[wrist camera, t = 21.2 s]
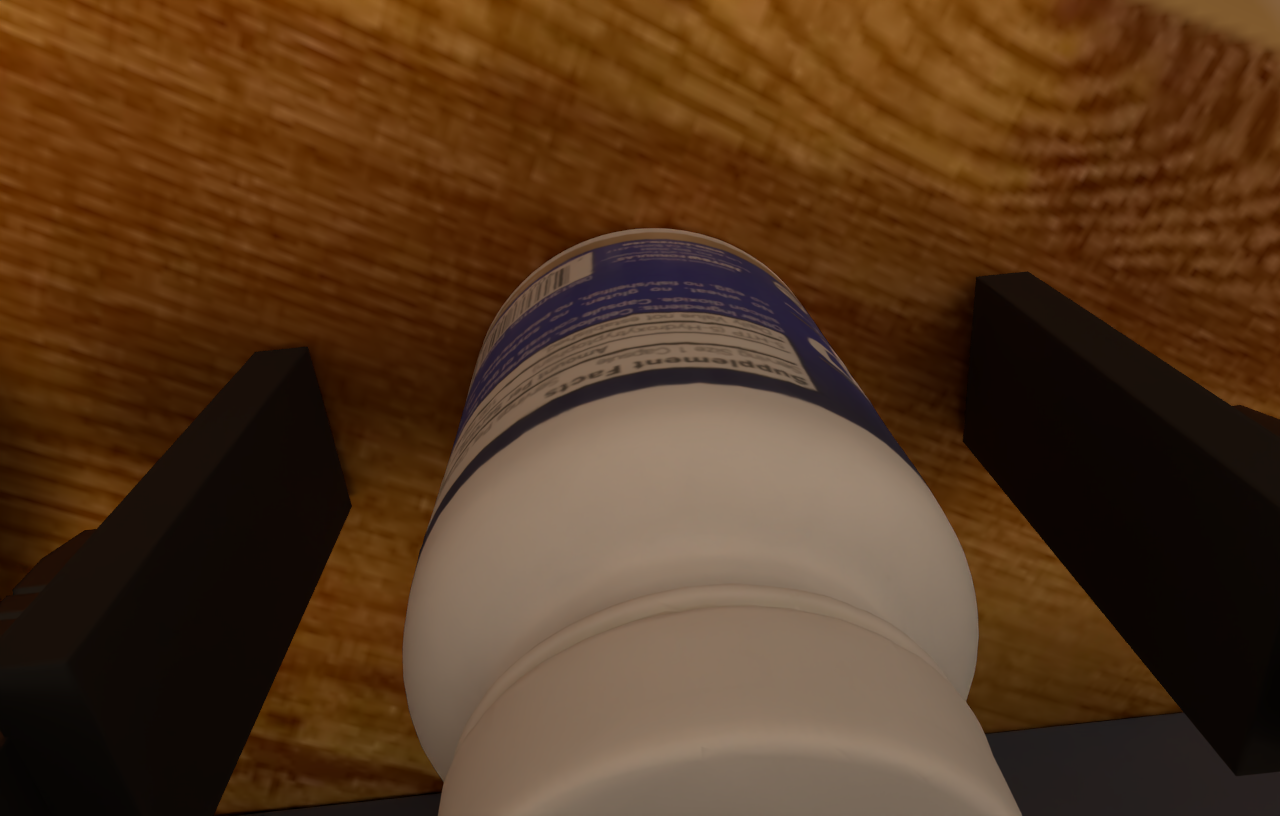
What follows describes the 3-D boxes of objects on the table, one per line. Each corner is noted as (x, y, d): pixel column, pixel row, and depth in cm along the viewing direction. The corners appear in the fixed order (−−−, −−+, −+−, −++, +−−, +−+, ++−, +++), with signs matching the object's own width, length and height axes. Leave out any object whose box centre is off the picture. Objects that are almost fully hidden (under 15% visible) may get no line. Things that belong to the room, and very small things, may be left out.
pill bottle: (832, 505, 15) (1129, 1141, 7) (520, 559, 15) (440, 1248, 7) (805, 186, 12) (1215, 570, 4) (434, 253, 12) (157, 748, 4)
